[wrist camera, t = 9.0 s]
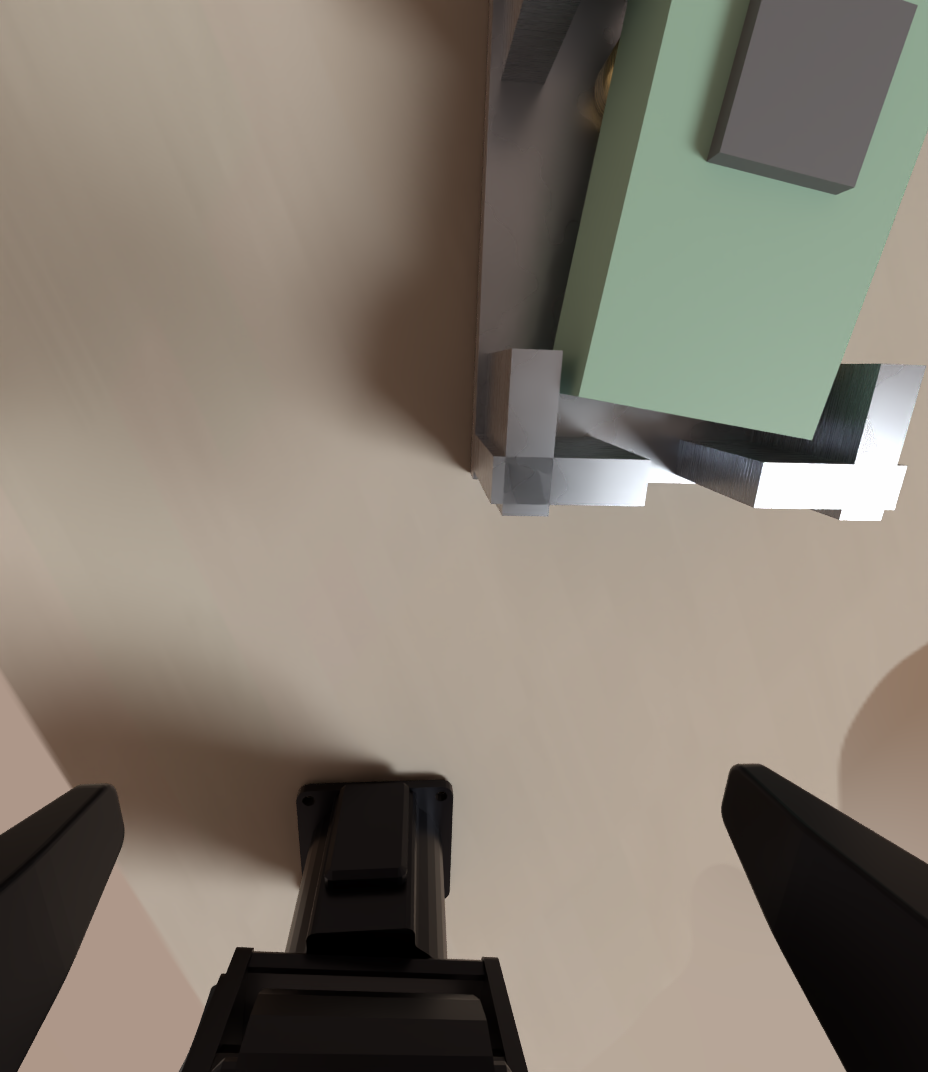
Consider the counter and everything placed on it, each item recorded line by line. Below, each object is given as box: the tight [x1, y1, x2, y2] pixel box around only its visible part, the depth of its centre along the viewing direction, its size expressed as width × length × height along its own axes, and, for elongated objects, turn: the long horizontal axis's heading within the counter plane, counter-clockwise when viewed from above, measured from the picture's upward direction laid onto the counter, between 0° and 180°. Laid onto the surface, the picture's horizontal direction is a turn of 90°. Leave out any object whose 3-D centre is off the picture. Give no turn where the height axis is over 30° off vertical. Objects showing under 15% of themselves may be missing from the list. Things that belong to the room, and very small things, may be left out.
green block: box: [553, 0, 928, 440], centre depth 12 cm, size 10×6×4 cm, turn 170°
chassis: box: [471, 0, 926, 520], centre depth 14 cm, size 15×11×6 cm
